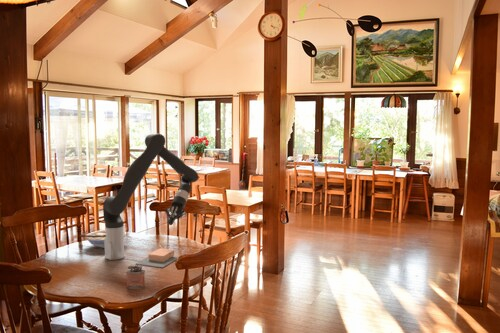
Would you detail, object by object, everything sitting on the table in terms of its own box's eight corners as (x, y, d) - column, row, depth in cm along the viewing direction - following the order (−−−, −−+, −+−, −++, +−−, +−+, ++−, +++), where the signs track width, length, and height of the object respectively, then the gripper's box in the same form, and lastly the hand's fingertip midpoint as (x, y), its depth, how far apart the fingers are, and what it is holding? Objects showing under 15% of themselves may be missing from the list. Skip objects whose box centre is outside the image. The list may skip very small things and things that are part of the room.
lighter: (145, 285, 181) (145, 264, 180) (144, 288, 177) (143, 266, 176) (127, 285, 180) (127, 264, 179) (125, 288, 177) (125, 266, 176)
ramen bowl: (134, 241, 249) (134, 228, 248) (118, 253, 226) (118, 238, 226) (95, 240, 252) (95, 227, 251) (76, 251, 229) (75, 237, 228)
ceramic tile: (174, 256, 220) (163, 262, 210) (159, 254, 223) (148, 260, 213) (174, 250, 220) (163, 256, 209) (159, 248, 223) (148, 254, 212)
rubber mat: (162, 268, 203) (162, 267, 203) (135, 264, 208) (135, 263, 208) (178, 258, 218) (178, 257, 218) (153, 255, 223) (153, 254, 223)
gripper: (168, 194, 235) (156, 219, 225) (188, 196, 231) (177, 221, 221) (173, 202, 241) (162, 226, 230) (192, 203, 236) (182, 229, 226)
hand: (169, 224), depth 226 cm, fingers closed
